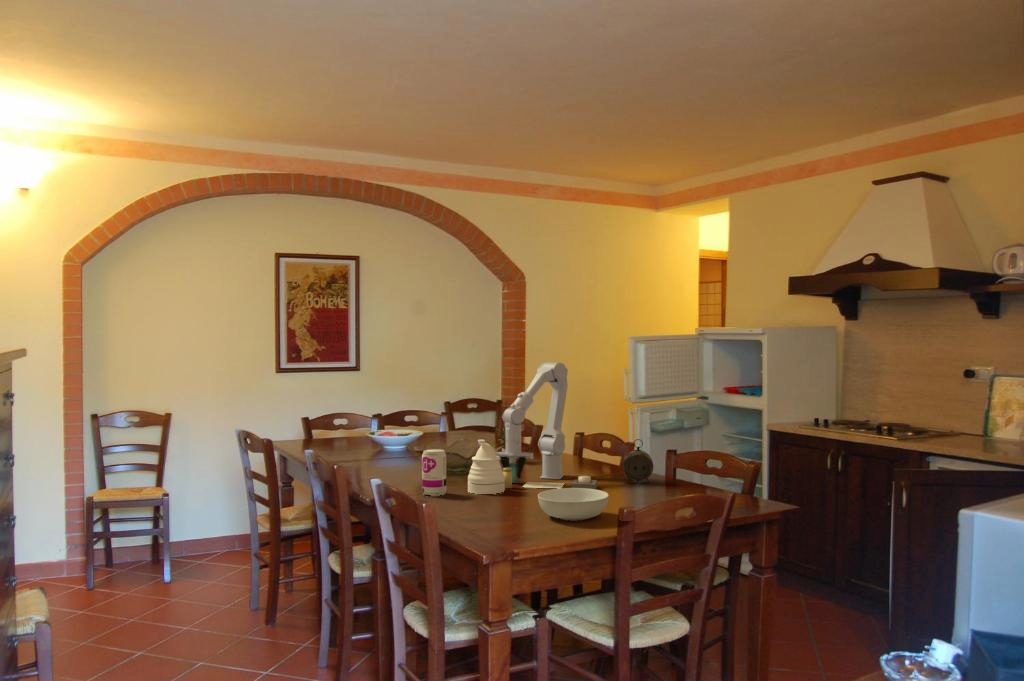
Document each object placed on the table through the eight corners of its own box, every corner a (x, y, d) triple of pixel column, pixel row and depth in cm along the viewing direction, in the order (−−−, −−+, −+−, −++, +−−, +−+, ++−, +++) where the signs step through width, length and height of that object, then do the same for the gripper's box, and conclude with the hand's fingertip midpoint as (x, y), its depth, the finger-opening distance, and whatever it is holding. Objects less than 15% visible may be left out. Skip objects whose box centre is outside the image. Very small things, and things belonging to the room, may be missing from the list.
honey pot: (482, 496, 252) (482, 443, 252) (460, 490, 262) (460, 439, 262) (512, 491, 260) (511, 439, 260) (489, 486, 270) (489, 436, 270)
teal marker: (510, 481, 278) (510, 463, 278) (518, 482, 277) (518, 463, 277) (508, 483, 275) (508, 464, 275) (516, 483, 274) (516, 464, 274)
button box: (574, 486, 269) (574, 479, 269) (597, 486, 267) (596, 480, 267) (571, 490, 261) (571, 483, 261) (594, 491, 259) (594, 484, 259)
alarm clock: (652, 482, 276) (652, 438, 276) (653, 484, 271) (653, 440, 271) (622, 481, 277) (622, 438, 277) (623, 484, 272) (623, 439, 272)
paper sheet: (527, 482, 276) (527, 481, 276) (564, 484, 273) (564, 483, 273) (521, 487, 266) (521, 487, 266) (560, 489, 263) (560, 488, 263)
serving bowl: (564, 506, 236) (564, 484, 236) (622, 516, 222) (622, 492, 222) (523, 518, 219) (523, 495, 219) (582, 529, 206) (582, 504, 206)
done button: (579, 483, 267) (579, 475, 267) (591, 484, 266) (591, 475, 266) (577, 486, 263) (577, 477, 263) (589, 486, 262) (589, 478, 262)
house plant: (485, 464, 319) (485, 426, 319) (496, 459, 332) (496, 422, 333) (517, 465, 315) (517, 427, 315) (527, 460, 328) (527, 423, 328)
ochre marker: (504, 487, 268) (503, 467, 268) (513, 487, 267) (512, 467, 267) (501, 488, 265) (501, 468, 265) (511, 489, 264) (510, 469, 264)
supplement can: (434, 497, 250) (434, 452, 250) (417, 494, 255) (417, 450, 255) (451, 493, 256) (451, 450, 256) (433, 491, 261) (433, 448, 261)
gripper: (491, 441, 274) (491, 478, 274) (530, 442, 271) (530, 480, 270) (496, 439, 281) (496, 475, 280) (534, 440, 277) (534, 476, 277)
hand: (513, 477), depth 276 cm, fingers open, 4 cm apart
